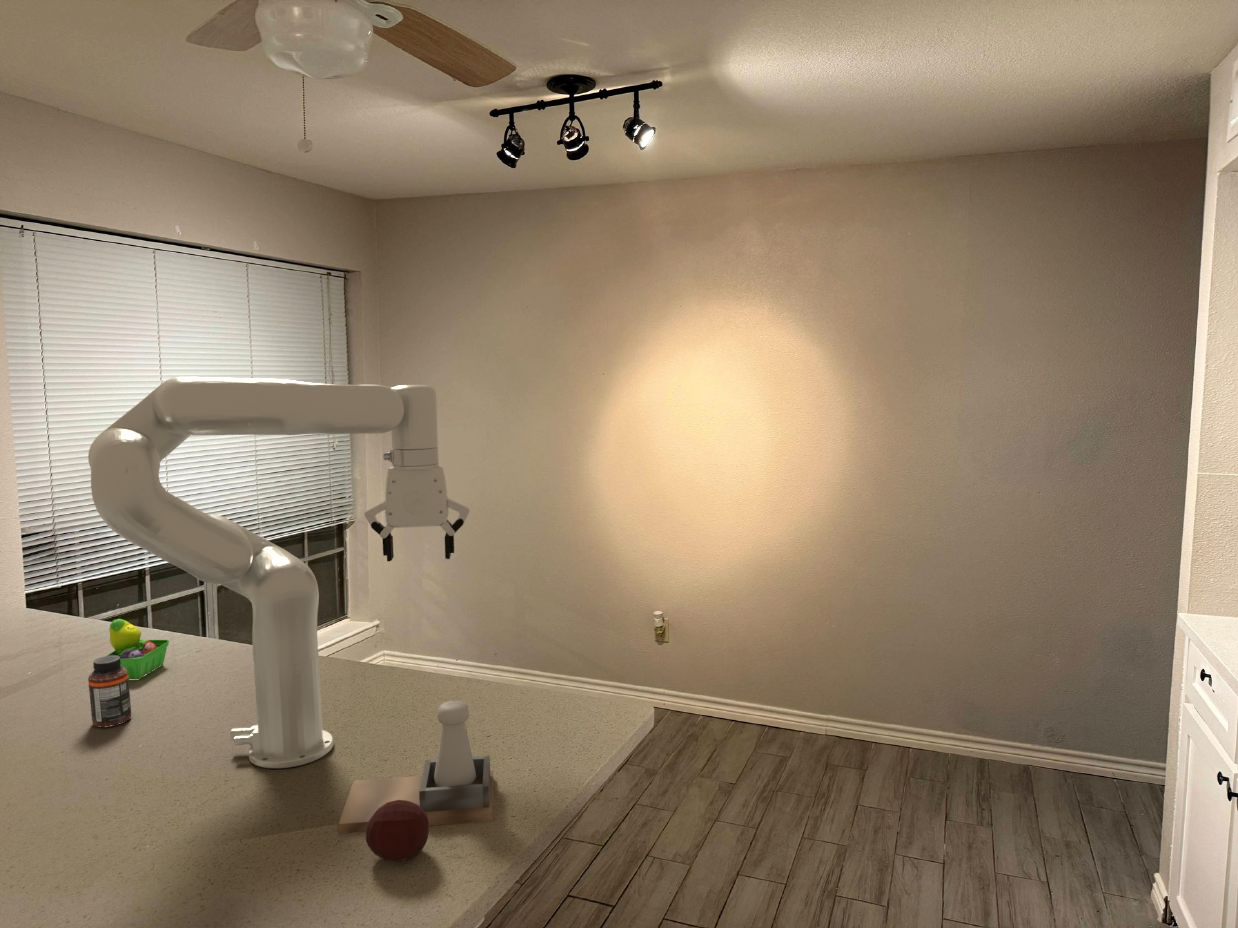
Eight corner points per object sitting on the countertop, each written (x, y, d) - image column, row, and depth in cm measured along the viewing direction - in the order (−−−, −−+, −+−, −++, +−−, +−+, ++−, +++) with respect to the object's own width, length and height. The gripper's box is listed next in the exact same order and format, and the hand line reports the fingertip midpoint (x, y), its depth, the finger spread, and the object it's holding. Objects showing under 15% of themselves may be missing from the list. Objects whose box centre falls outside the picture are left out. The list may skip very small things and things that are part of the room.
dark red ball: (425, 871, 104) (423, 816, 103) (360, 875, 104) (358, 820, 103) (434, 838, 112) (432, 786, 111) (373, 841, 111) (370, 789, 110)
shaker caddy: (338, 832, 113) (337, 802, 113) (354, 788, 125) (352, 760, 124) (492, 820, 116) (491, 790, 115) (493, 778, 127) (492, 751, 127)
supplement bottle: (97, 717, 151) (91, 655, 150) (135, 712, 153) (130, 651, 152) (87, 730, 146) (82, 666, 144) (127, 725, 148) (122, 662, 146)
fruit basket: (141, 683, 168) (137, 627, 166) (96, 683, 168) (92, 627, 166) (172, 663, 179) (169, 610, 178) (130, 663, 179) (126, 610, 178)
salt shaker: (467, 804, 117) (464, 713, 116) (428, 801, 119) (424, 710, 117) (482, 784, 123) (479, 697, 122) (444, 781, 124) (441, 694, 123)
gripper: (358, 462, 140) (363, 565, 141) (466, 459, 142) (470, 561, 144) (366, 457, 147) (370, 555, 149) (468, 455, 149) (471, 551, 151)
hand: (419, 558), depth 146 cm, fingers open, 9 cm apart
